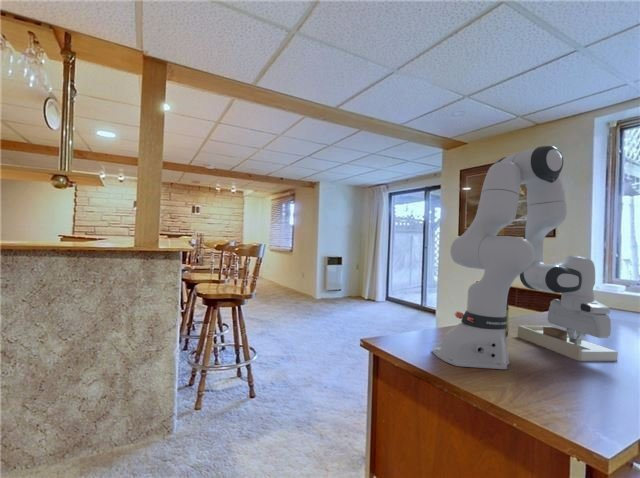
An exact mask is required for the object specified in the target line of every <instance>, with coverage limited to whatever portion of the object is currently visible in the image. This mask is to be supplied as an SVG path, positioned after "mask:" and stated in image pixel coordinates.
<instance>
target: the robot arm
mask: <svg viewBox="0 0 640 478" xmlns="http://www.w3.org/2000/svg"><path fill="white" fill-rule="evenodd" d="M563 166H564V157H563V155H562V152H561V151H560V150H559V149H558V148H557V147H555V146H553V145H542V146H538V147H536V148H531V149H527V150H523V151H518V152H516V153H513V154H511V155H508V156H505V157H502V158H501V159H500V158H499V160H497V161H496V162H495V163H493V164H492V165H491V166H490V167H489V168H488V170H487V173H486V176H485V177H484V181H483V184H482V187H481V193H480V198H479V201H478V206H477V210H476V214H475V215H474V216H475V217H474V219H473V220H472V222H471V224H470V225H469V226H468V228H467V229H466V230H465V231H464V233H463V234H461V235H460V236H458V237H457V238H455V239H454V240H453V242H452V244H451V246H450V251H449V252H450V256H451V259H452V261H453V262H454V263H455V264H456V265H459V266H462V267H465V268H468V269H476V270H477V269H478V270H484V273H483V276H482V277H481V279H480V280H479V281H475V282H473V283H472V284H471V285H469V287H468V289H467V302H466V304H467V305H466V310H465V312H464V313H462V312H460V311H456V312H455V313H454V316H455V317H456V318H458V319H461V320H460V321H461V322H460V323H458V324H457V325H455V326H454V327H452V328H451V329H449V330H448V331H447V332H445V333H444V334H443V335H442V337H441V338H442V339H441V342H440V346H437V347H436V346H435V347H433V349H432V352H433V354H434V355H435V356H436V358H439V359H440V360H442V361H444V362H446V363H448V364H451V365H452V366H455V367H463V368H464V367H466V368H468V367H469V368H477V369H478V368H481V369H491V370H493V369H497V370H507V369H508V366H509V365H510V359H509V355H508V350H507V349H508V348H507V341H506V340H507V338H506V337H507V336H506V335H505V331H506V328H507V316H506V305H507V303H508V295H509V291H510V288H511V286H512V284H513V283H514V281H515V280H516V279H517V278H518V277H519V278H520V281H521V283H522V285H523V286H524V287H525V288H527V289H530V290H535V291H543V292H546V293H553V294H561V297H560V299H558V298H554V299H551V301H550V305H549V307H548V312H547V317H546V319H547V321H548V323H549V324H551V325H555V326H558V327H562V328H564V329H565V330H566V331H567V335H568V336H569V342H571V343H574V344H577V345H581V340H583V339H584V338H585V336H586V335H588V336H591V337H593V338H597V339H608V338H609V337H610V336H611V332H612V325H611V324H612V322H611V317H610V316H609V314H610V313H611V308H610V307H608V306H606V305H605V304H603V303H601V302H599V301H598V300H596V299H595V293H594V287H595V285H596V267H595V263H594V262H593V260H592V259H590V258H588V257H585V256H578V255H567V256H566V257H565V258H563V259H561V260H560V261H557V262H555V263H554V262H553V263H552V264H551V263H545V262H544V241H545V238H546V237H547V235H548V234H549V233H550V232H552V231H553V230H555V229H556V228H558V227H559V226H561V225H562V223H564V221H566V218H567V209H568V207H567V197H566V192H565V188H564V184H563V181H562V179H561V178H562V177H561V175H560V174H561V172H562V170H563ZM522 185H524V186H525V188H526V207H527V208H526V209H527V215H526V216H527V217H526V223H525V225H524V230H523V238H521V237H517V236H511V235H498V234H499V232H500V231H501V230H502V229H504V228H506V227H508V226H509V225H511V224H512V223H513V222H514V221H515V219H516V216H517V212H518V205H519V200H520V195H521V186H522ZM575 334H576V336H575Z"/></svg>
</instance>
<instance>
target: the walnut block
mask: <svg viewBox="0 0 640 478" xmlns="http://www.w3.org/2000/svg"><path fill="white" fill-rule="evenodd" d="M543 334H546V335H549V336H552V337H554V338H557V339H560V340H563V341H566V342H567V335H568V334H567V331H566V329H564V328H559V327H557V326H552V327H543Z"/></svg>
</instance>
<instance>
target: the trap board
mask: <svg viewBox="0 0 640 478" xmlns="http://www.w3.org/2000/svg"><path fill="white" fill-rule="evenodd" d="M543 327H553V326H551V325H518V326H517V337H518V338H520V339H523V340H525V341H528V342H530V343H533V344H535V345H538V346H540V347H542V348H544V349H547V350H550V351H553V352H555V353H558V354H560V355H563V356H565V357H568V358H571V359H572V360H575V361H578V362H596V361H597V362H599V361H600V362H606V361H607V362H609V361H610V362H613V361H616V362H617V361H618V357H619V356H618V354H619V352H618V351H617V350H614V349H610V348H607V347H605V346H601V345H599V344H595V343H593V342H590V341H586V340H583V339H582V340H581V345H577V344H574V343H571V342H569V336H568V334H567V342H566V341H563V340H560V339H557V338H554V337H552V336H549V335H546V334H543Z"/></svg>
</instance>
